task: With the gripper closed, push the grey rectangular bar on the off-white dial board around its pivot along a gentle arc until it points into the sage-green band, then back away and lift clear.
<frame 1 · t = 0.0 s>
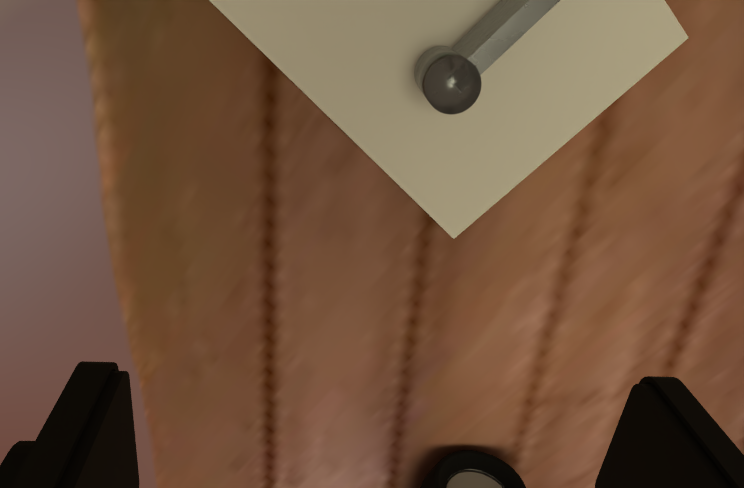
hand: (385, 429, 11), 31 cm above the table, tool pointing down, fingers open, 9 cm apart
dial board: (447, 8, 37), on the table
grey rectangular bar: (521, 7, 34), point 4 cm above the table, hinge at 0.0°
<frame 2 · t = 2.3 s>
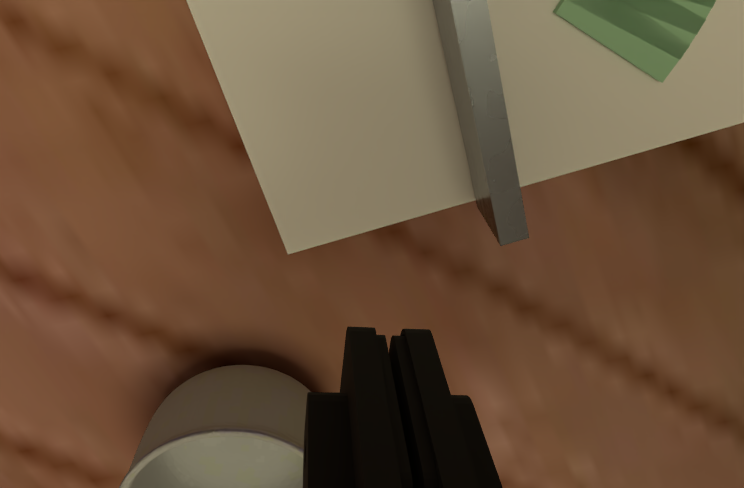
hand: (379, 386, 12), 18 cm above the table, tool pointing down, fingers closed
grey rectangular bar: (468, 56, 23), point 4 cm above the table, hinge at 0.0°
teacup: (272, 416, 36), on the table
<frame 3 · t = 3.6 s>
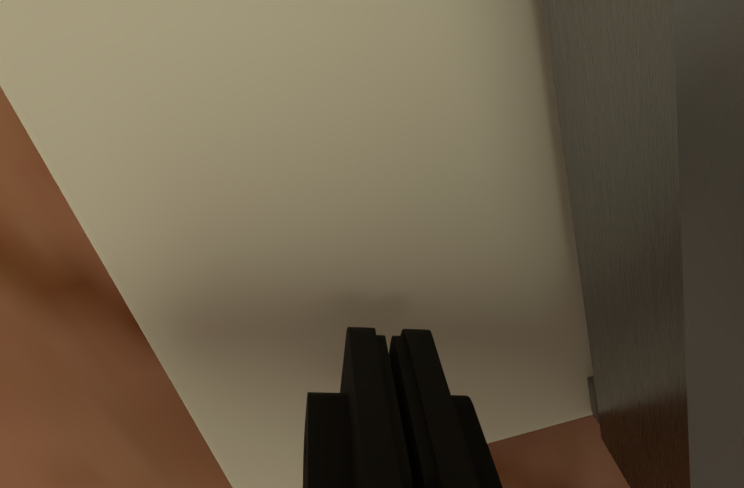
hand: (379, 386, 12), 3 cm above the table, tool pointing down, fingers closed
grey rectangular bar: (650, 205, 10), point 4 cm above the table, hinge at 0.0°
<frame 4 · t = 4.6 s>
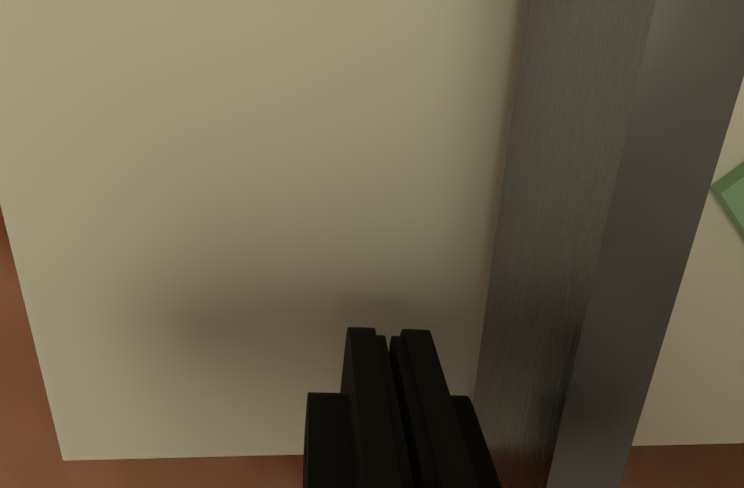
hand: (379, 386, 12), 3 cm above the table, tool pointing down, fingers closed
dial board: (601, 43, 12), on the table
grey rectangular bar: (569, 250, 10), point 4 cm above the table, hinge at 1.6°, touching gripper
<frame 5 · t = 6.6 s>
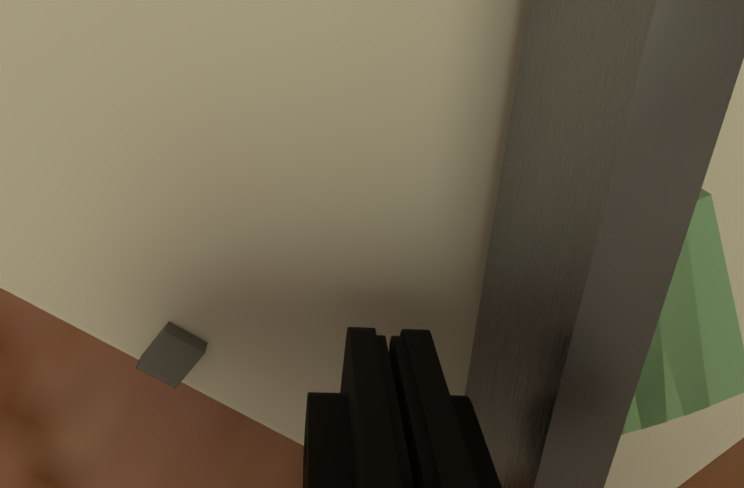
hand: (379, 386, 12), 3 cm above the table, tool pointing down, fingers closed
dial board: (502, 66, 13), on the table
grey rectangular bar: (565, 241, 10), point 4 cm above the table, hinge at 36.3°, touching gripper
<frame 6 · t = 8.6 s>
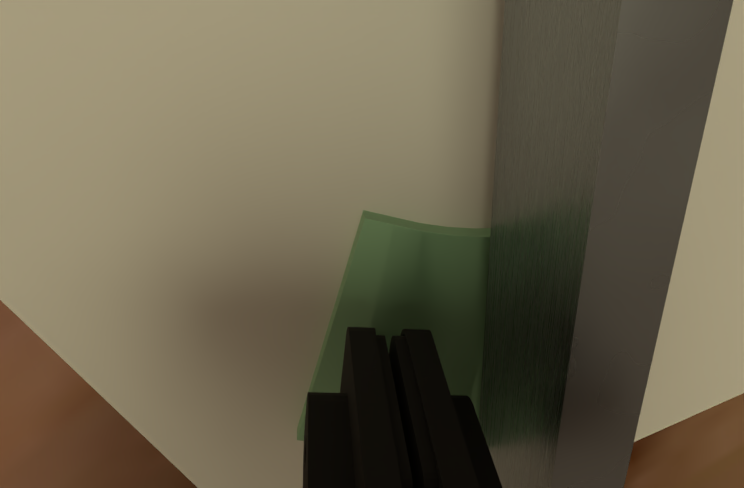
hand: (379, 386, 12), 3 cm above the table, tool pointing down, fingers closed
dial board: (412, 30, 12), on the table
grey rectangular bar: (564, 228, 9), point 4 cm above the table, hinge at 63.2°
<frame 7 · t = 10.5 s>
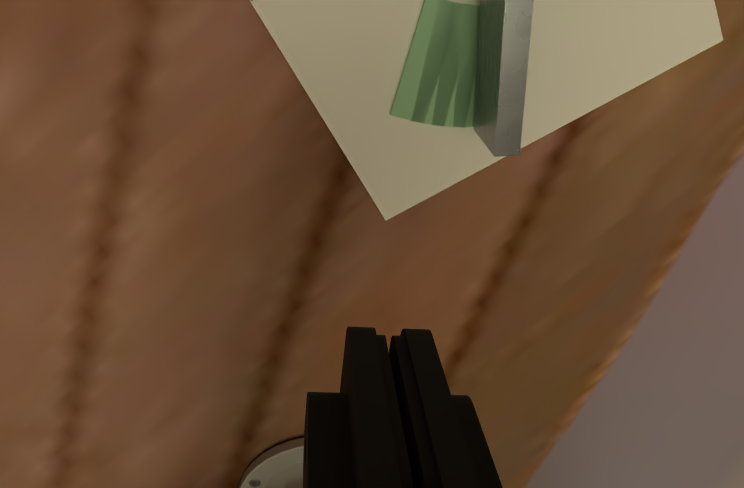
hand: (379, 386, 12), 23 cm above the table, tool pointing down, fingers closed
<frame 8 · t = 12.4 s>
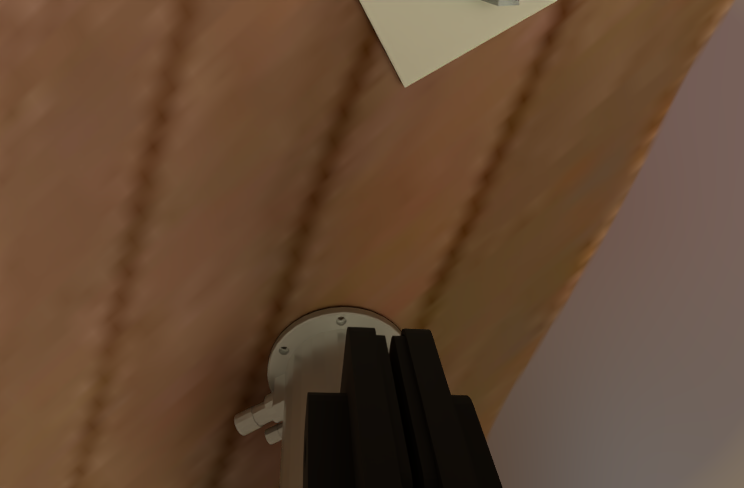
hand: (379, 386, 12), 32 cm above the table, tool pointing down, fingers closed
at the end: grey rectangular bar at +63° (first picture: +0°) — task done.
